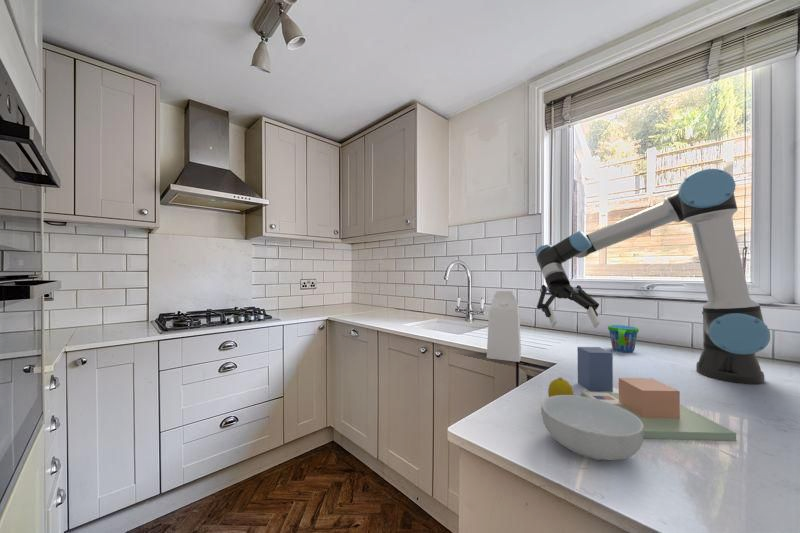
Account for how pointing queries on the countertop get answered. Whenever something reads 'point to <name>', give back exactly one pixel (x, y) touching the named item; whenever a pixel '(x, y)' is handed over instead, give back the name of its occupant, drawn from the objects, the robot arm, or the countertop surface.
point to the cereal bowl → (592, 427)
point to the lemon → (560, 388)
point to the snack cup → (623, 337)
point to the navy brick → (595, 369)
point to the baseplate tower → (662, 411)
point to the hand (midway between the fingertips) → (575, 325)
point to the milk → (504, 328)
